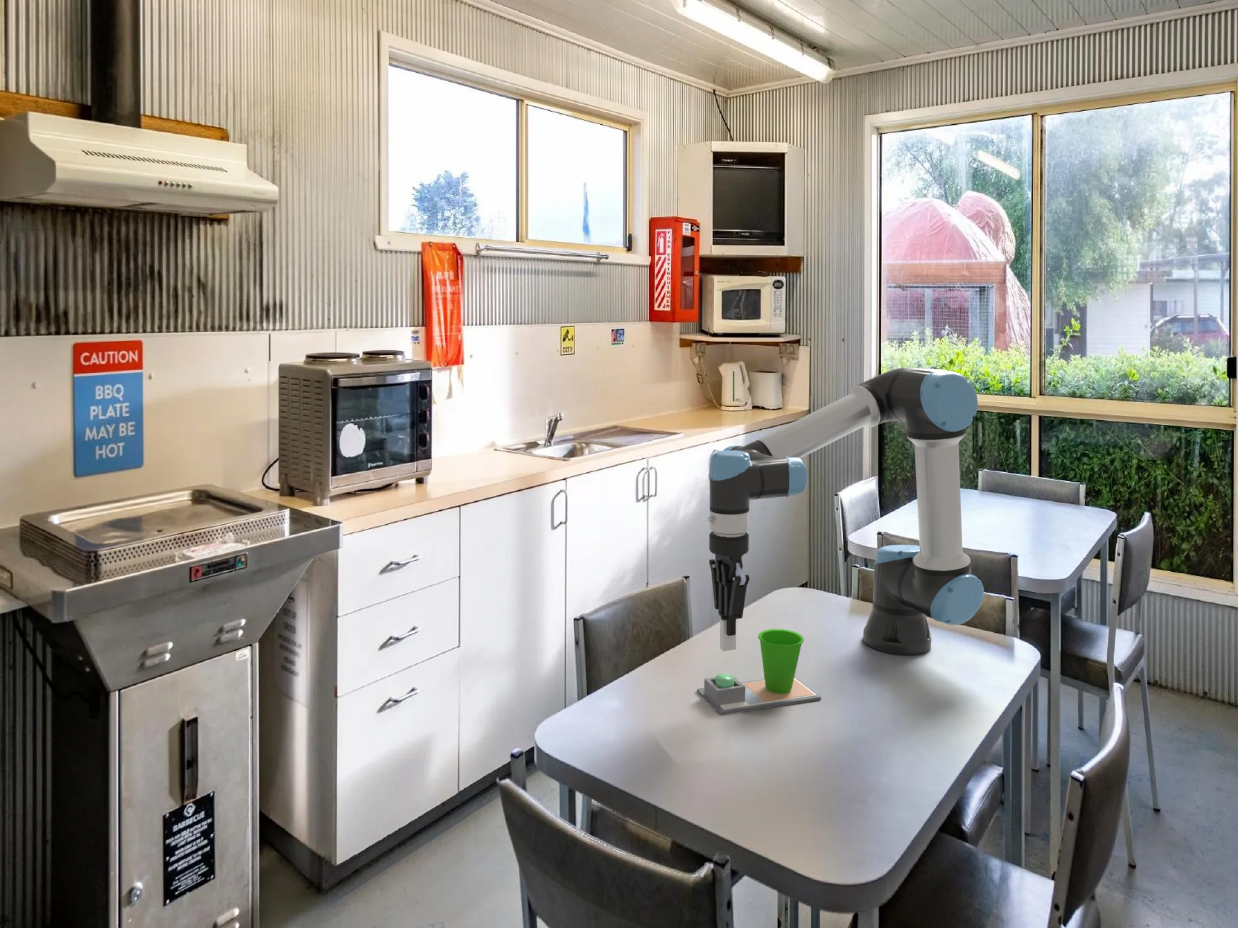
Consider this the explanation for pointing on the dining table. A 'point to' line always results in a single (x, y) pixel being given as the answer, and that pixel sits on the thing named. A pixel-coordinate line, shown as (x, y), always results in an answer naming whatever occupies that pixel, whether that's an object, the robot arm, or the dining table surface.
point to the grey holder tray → (752, 696)
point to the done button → (724, 681)
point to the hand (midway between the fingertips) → (727, 648)
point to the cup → (780, 658)
